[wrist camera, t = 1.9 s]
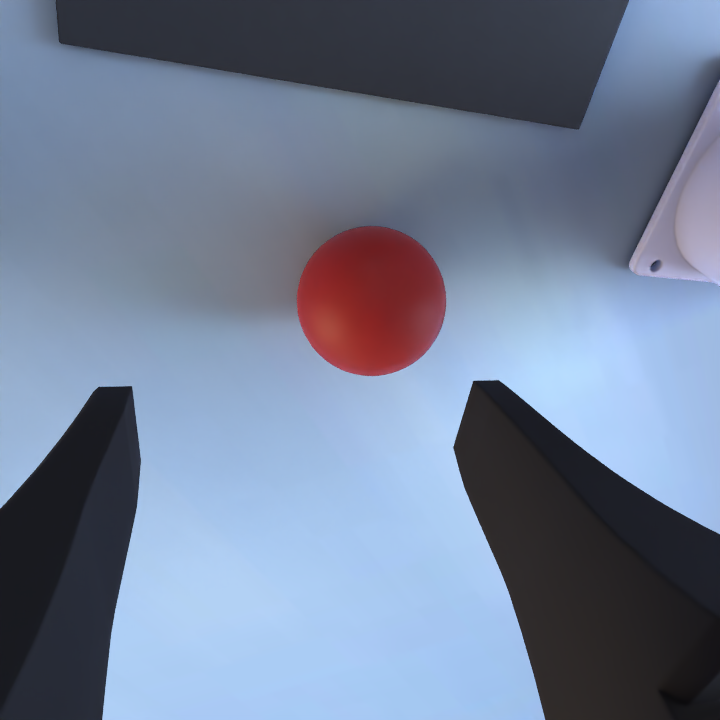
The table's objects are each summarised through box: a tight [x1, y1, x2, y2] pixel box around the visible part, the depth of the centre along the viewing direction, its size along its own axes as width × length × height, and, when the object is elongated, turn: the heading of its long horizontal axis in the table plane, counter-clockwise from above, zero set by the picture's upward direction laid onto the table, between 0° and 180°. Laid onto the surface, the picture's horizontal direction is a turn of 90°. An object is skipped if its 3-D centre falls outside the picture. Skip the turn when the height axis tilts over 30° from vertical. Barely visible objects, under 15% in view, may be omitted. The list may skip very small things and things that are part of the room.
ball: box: [297, 226, 446, 376], centre depth 20 cm, size 5×5×5 cm
